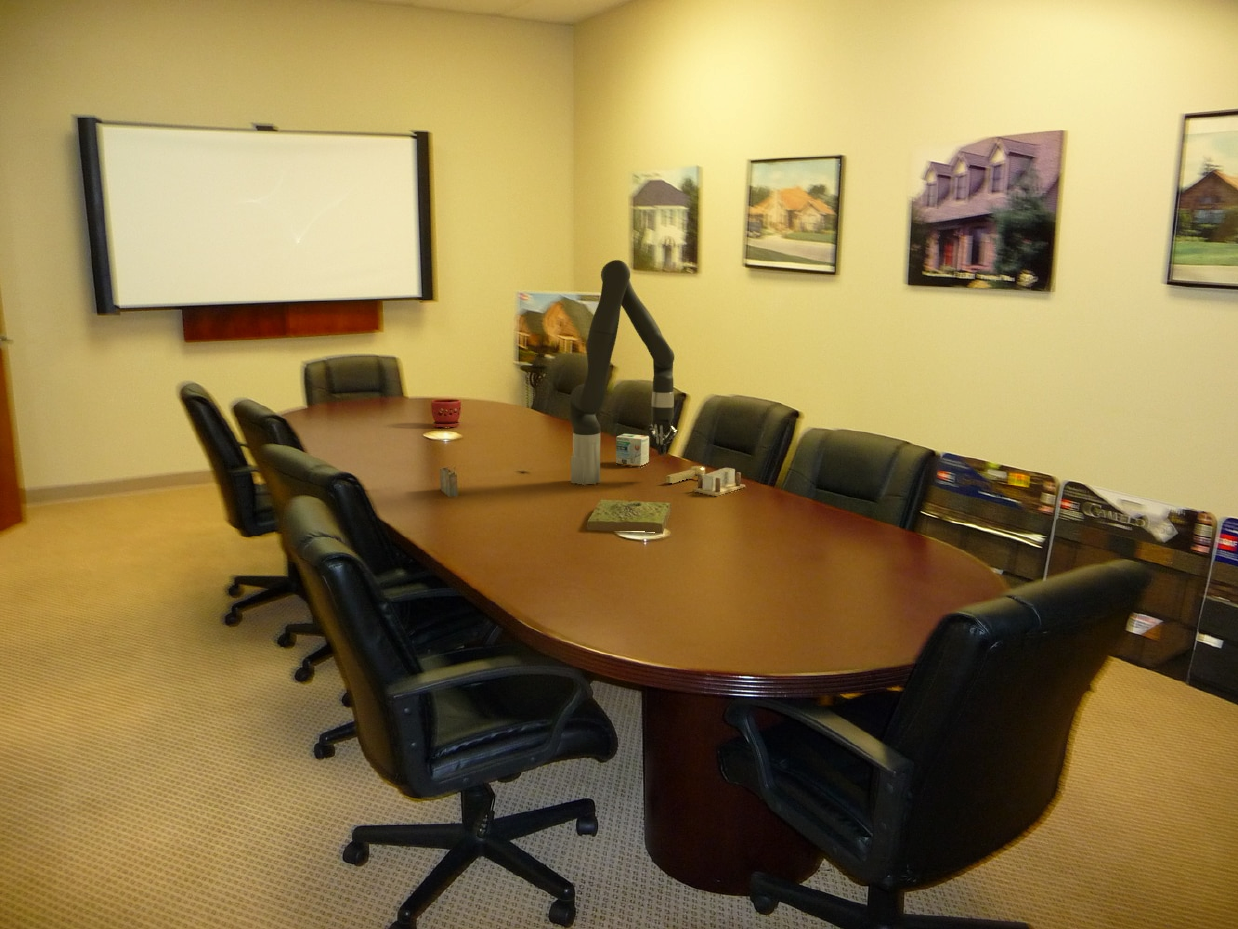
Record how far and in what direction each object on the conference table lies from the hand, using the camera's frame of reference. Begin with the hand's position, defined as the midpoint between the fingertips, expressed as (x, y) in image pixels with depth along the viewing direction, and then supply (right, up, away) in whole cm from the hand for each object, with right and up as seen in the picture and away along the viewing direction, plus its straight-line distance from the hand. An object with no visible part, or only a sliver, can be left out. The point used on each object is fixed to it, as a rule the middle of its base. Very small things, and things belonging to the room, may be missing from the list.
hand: (661, 454), depth 335 cm
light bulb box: (-10, -4, +26) cm, 28 cm away
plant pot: (-91, +13, +99) cm, 135 cm away
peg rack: (+18, -12, -12) cm, 25 cm away
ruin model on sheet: (-70, -13, -18) cm, 73 cm away
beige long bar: (+8, -8, +2) cm, 12 cm away
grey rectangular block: (+18, -11, -12) cm, 25 cm away
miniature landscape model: (-11, -21, -49) cm, 54 cm away
